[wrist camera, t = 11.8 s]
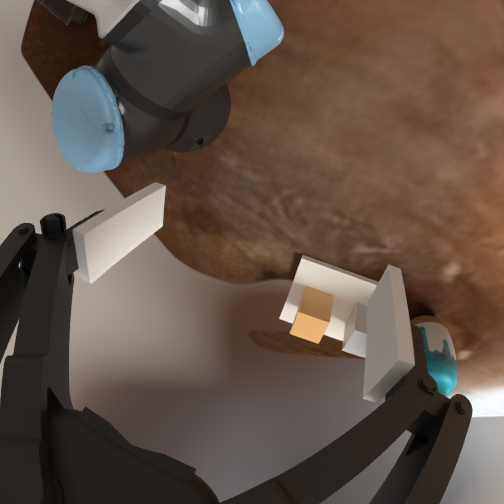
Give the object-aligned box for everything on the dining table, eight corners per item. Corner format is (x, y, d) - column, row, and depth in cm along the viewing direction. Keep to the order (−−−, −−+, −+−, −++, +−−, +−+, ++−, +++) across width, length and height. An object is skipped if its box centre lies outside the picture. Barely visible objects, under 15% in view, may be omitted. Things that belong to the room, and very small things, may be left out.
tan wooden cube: (298, 307, 52) (289, 333, 46) (306, 285, 49) (298, 311, 44) (324, 316, 51) (318, 343, 45) (334, 295, 48) (329, 322, 43)
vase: (390, 347, 51) (389, 431, 35) (397, 305, 47) (404, 395, 31) (439, 346, 48) (450, 428, 32) (451, 304, 43) (474, 390, 27)
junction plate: (280, 314, 56) (269, 344, 49) (302, 254, 48) (292, 282, 41) (366, 344, 53) (364, 376, 46) (400, 290, 45) (405, 321, 38)
